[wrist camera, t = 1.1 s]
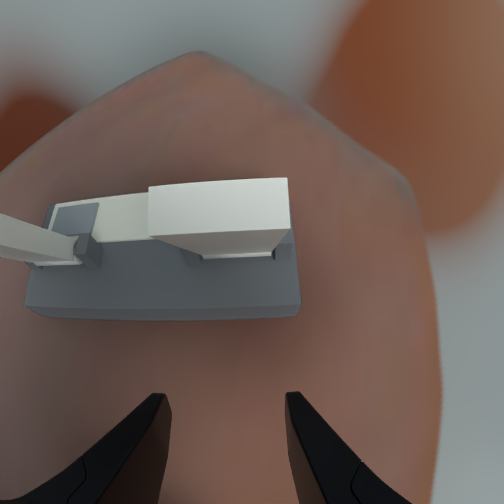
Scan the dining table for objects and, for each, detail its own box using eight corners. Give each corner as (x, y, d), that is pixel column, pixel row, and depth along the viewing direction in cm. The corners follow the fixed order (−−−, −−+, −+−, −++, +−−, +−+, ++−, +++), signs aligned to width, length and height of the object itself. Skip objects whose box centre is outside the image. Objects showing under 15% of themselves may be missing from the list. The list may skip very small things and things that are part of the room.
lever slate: (85, 265, 21) (-31, 241, 9) (44, 267, 21) (-67, 247, 9) (86, 239, 21) (-26, 199, 10) (45, 243, 21) (-63, 211, 10)
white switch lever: (270, 256, 21) (291, 235, 9) (206, 259, 21) (148, 242, 9) (268, 227, 21) (286, 171, 9) (205, 230, 21) (148, 180, 9)
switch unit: (296, 316, 22) (306, 291, 18) (43, 316, 22) (5, 295, 18) (284, 204, 27) (288, 162, 22) (63, 221, 27) (37, 189, 22)
